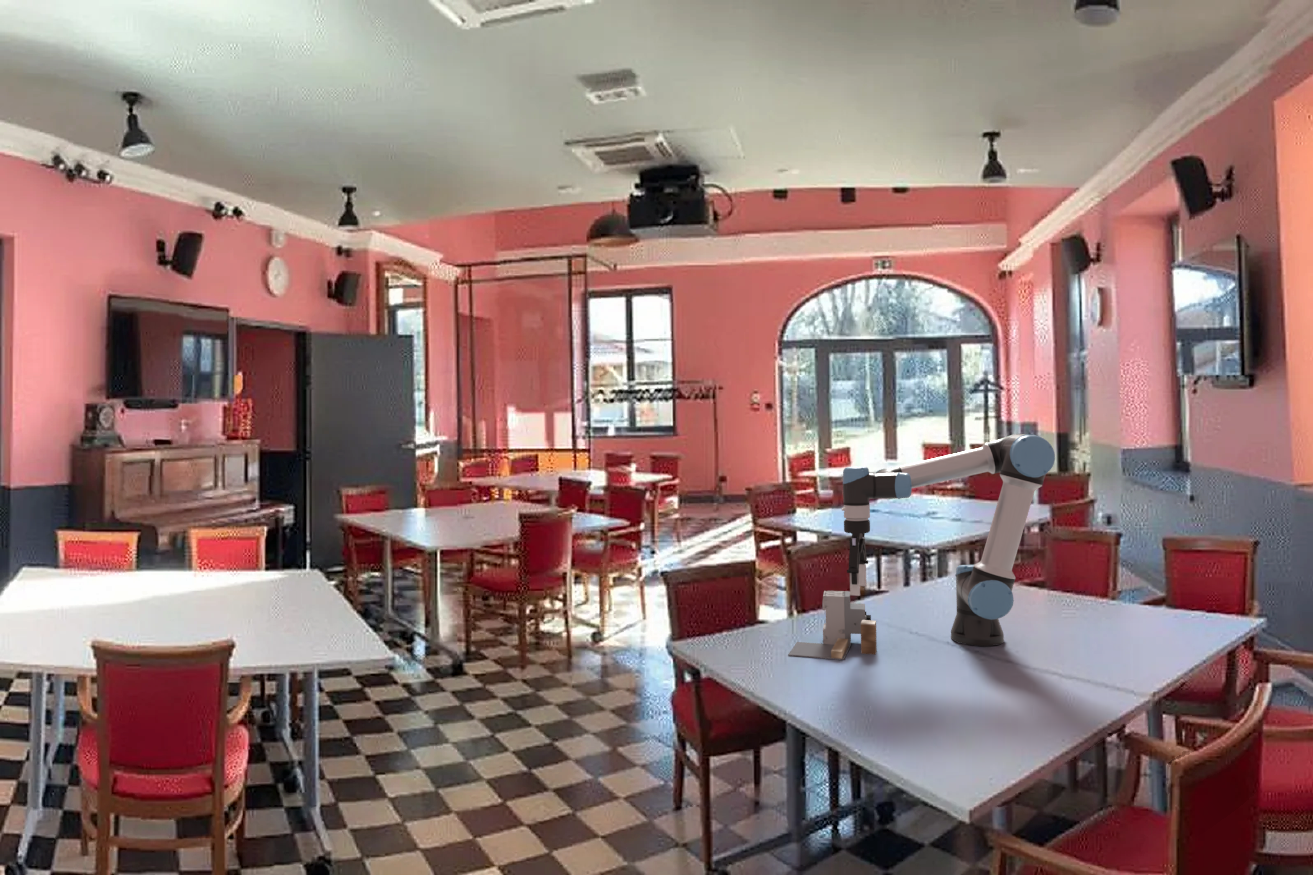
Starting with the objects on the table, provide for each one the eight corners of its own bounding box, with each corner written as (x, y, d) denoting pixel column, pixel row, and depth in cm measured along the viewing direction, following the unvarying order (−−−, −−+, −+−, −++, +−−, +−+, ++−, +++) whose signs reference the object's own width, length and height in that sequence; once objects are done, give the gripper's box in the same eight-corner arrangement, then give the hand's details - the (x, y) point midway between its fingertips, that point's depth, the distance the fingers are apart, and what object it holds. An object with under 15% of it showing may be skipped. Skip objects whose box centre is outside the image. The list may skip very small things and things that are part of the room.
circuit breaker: (871, 646, 254) (870, 597, 253) (823, 644, 257) (822, 595, 257) (871, 640, 261) (870, 591, 260) (824, 638, 264) (823, 590, 264)
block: (876, 650, 249) (876, 620, 249) (875, 654, 245) (874, 624, 245) (862, 649, 251) (862, 619, 250) (861, 653, 247) (860, 623, 247)
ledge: (848, 645, 254) (848, 639, 254) (841, 658, 241) (841, 651, 241) (838, 644, 255) (838, 638, 255) (831, 657, 242) (831, 650, 242)
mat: (849, 647, 254) (849, 645, 254) (843, 660, 241) (843, 658, 241) (797, 643, 259) (797, 641, 259) (788, 655, 246) (788, 654, 246)
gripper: (850, 513, 262) (851, 581, 263) (836, 524, 239) (838, 598, 240) (874, 514, 259) (876, 582, 260) (863, 524, 236) (865, 600, 237)
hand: (858, 590), depth 250 cm, fingers open, 13 cm apart
